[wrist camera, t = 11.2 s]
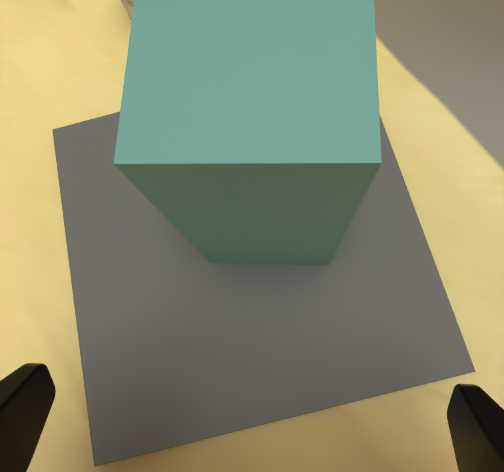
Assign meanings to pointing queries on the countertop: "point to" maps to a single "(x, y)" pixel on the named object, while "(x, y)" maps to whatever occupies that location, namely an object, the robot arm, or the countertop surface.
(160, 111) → the teal block
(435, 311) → the charcoal mat
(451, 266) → the countertop surface
